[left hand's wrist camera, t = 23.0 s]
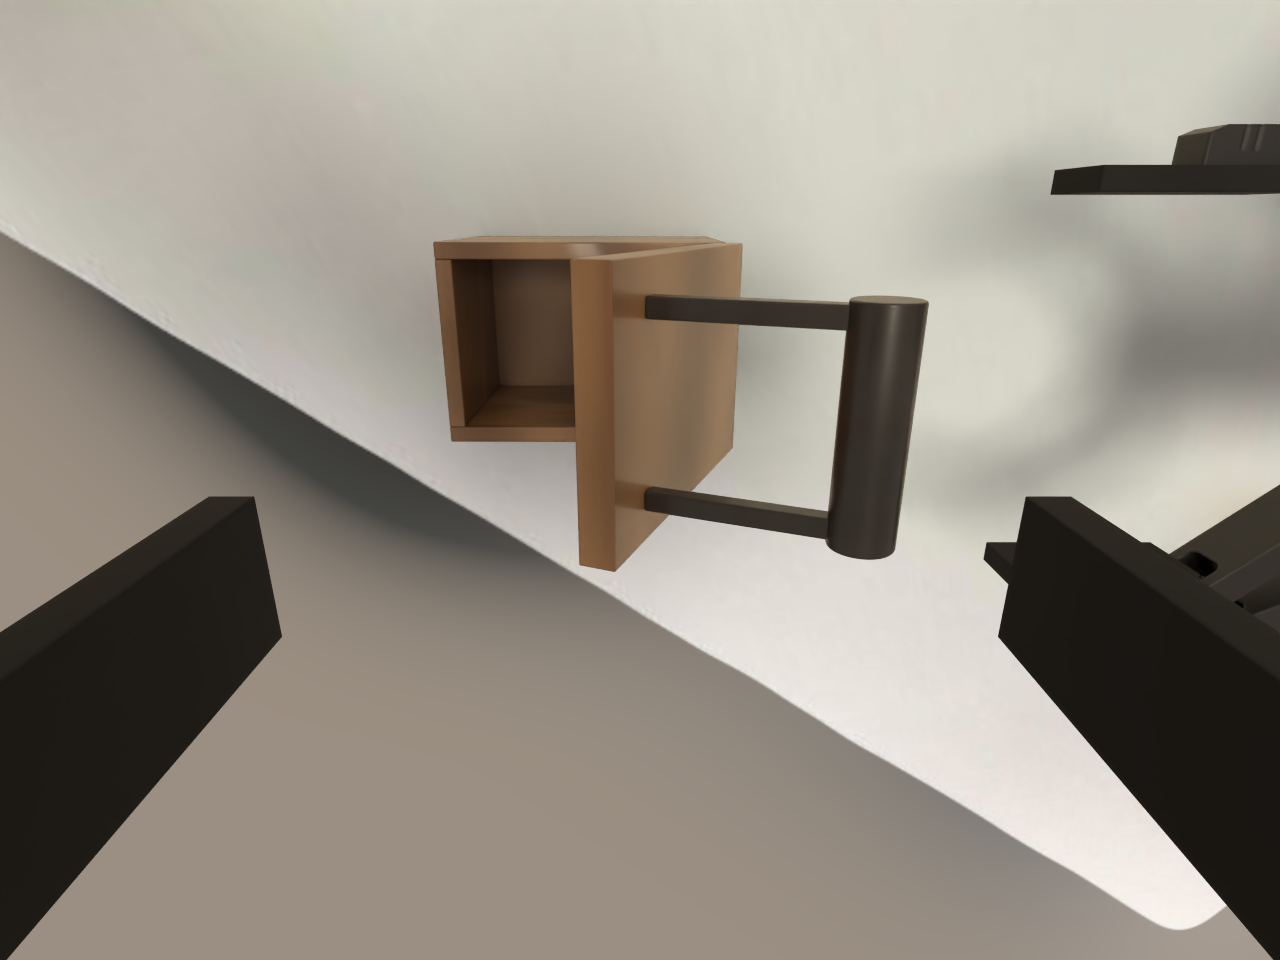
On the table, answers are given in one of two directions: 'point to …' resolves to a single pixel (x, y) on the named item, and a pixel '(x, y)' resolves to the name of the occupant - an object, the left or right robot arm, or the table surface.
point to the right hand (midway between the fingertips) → (1033, 391)
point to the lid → (723, 400)
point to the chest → (516, 331)
